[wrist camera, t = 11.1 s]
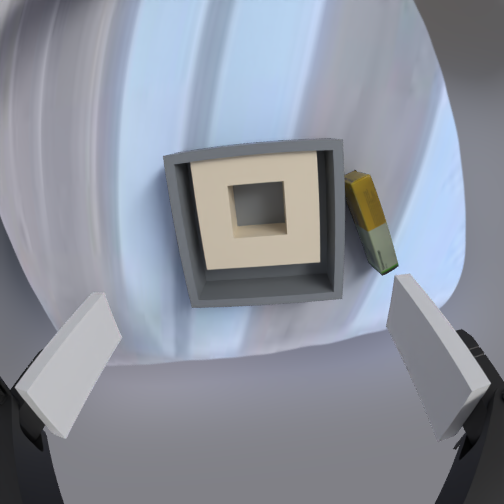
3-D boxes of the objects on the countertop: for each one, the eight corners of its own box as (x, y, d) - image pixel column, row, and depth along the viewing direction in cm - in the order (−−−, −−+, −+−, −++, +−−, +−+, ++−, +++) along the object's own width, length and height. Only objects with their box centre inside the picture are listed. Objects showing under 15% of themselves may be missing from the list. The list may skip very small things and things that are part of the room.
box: (179, 152, 31) (163, 156, 26) (330, 138, 29) (342, 139, 24) (201, 284, 37) (192, 307, 32) (332, 275, 36) (342, 298, 31)
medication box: (385, 254, 35) (400, 267, 31) (368, 264, 35) (381, 277, 31) (356, 169, 30) (370, 173, 27) (336, 178, 31) (349, 183, 27)
